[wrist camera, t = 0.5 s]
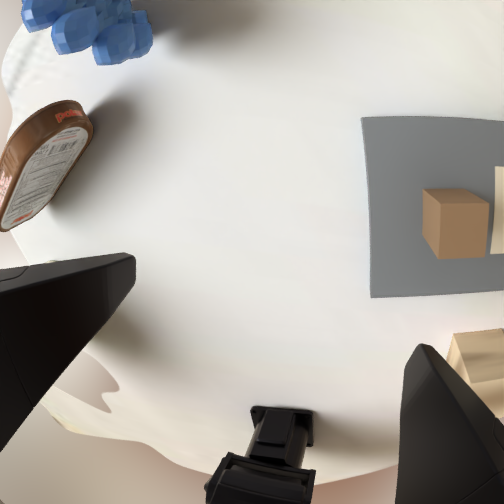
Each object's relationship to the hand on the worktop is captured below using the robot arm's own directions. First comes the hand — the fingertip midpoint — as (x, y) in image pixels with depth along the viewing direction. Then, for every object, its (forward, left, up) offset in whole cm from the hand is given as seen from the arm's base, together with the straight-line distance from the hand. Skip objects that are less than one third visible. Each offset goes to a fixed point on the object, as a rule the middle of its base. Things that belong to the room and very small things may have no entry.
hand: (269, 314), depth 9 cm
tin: (+7, +22, -14) cm, 27 cm away
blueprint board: (0, -16, -13) cm, 21 cm away
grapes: (+17, +10, -14) cm, 24 cm away
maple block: (-14, -14, -13) cm, 23 cm away
